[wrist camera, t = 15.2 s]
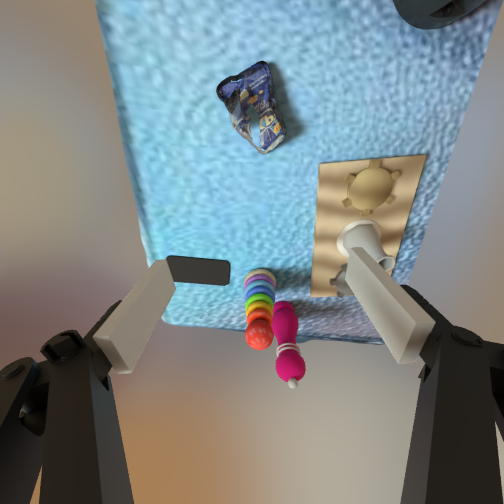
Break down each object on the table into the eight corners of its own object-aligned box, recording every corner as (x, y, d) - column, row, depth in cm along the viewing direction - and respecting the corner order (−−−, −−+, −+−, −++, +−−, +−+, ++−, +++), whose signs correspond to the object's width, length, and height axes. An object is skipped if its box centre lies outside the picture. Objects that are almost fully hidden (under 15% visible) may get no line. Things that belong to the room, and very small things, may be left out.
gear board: (318, 163, 38) (323, 164, 35) (420, 154, 37) (431, 155, 34) (309, 293, 53) (312, 300, 50) (382, 289, 52) (388, 296, 49)
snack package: (217, 150, 37) (280, 156, 37) (209, 144, 31) (284, 151, 31) (220, 69, 34) (290, 77, 34) (211, 44, 27) (298, 53, 27)
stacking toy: (278, 269, 49) (289, 334, 33) (272, 294, 53) (280, 364, 37) (245, 265, 49) (240, 329, 32) (242, 291, 53) (236, 360, 36)
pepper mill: (289, 295, 53) (305, 372, 36) (298, 314, 56) (318, 393, 39) (264, 304, 55) (267, 382, 37) (274, 322, 58) (282, 401, 40)
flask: (379, 247, 44) (410, 274, 35) (345, 258, 45) (366, 286, 37) (375, 217, 41) (408, 239, 32) (338, 230, 42) (360, 254, 33)
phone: (228, 286, 52) (168, 281, 51) (228, 284, 52) (169, 279, 52) (229, 261, 48) (165, 255, 47) (230, 259, 49) (166, 254, 48)
